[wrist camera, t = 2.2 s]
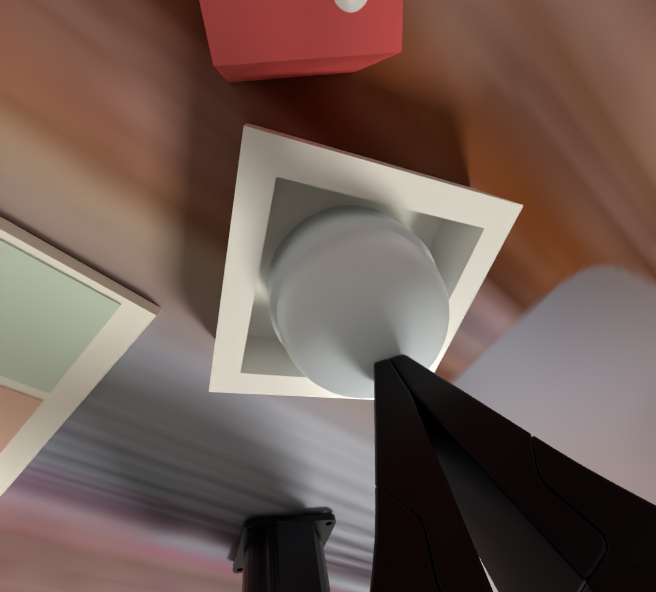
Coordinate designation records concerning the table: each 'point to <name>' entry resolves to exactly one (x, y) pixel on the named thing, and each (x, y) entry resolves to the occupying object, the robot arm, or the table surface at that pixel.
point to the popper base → (315, 196)
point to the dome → (355, 298)
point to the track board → (54, 340)
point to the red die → (300, 36)
